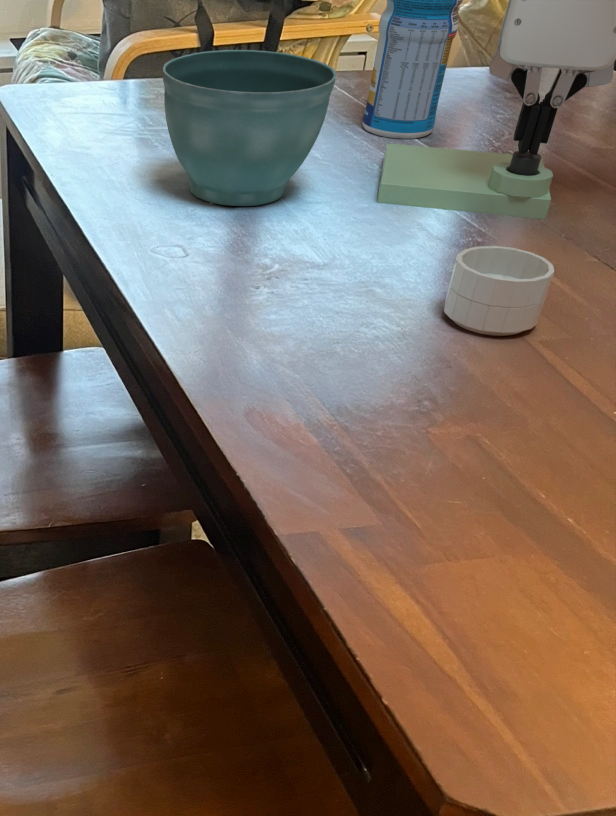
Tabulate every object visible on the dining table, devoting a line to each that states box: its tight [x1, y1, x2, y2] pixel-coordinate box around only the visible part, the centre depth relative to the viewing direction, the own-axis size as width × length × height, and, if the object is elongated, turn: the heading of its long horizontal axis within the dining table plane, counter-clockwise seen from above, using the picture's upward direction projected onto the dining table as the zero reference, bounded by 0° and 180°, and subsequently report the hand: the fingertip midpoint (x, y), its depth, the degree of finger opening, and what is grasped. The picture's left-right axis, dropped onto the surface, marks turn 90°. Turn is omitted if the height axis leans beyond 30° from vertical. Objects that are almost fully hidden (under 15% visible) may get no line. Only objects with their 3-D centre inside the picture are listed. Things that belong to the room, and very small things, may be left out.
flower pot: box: [162, 49, 338, 207], centre depth 102 cm, size 16×16×11 cm
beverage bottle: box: [362, 0, 464, 140], centre depth 116 cm, size 8×8×20 cm
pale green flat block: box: [376, 142, 554, 220], centre depth 106 cm, size 16×14×4 cm
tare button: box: [508, 150, 542, 176], centre depth 101 cm, size 3×3×2 cm
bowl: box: [443, 245, 555, 337], centre depth 82 cm, size 7×7×4 cm
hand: (527, 149), depth 100 cm, fingers closed
